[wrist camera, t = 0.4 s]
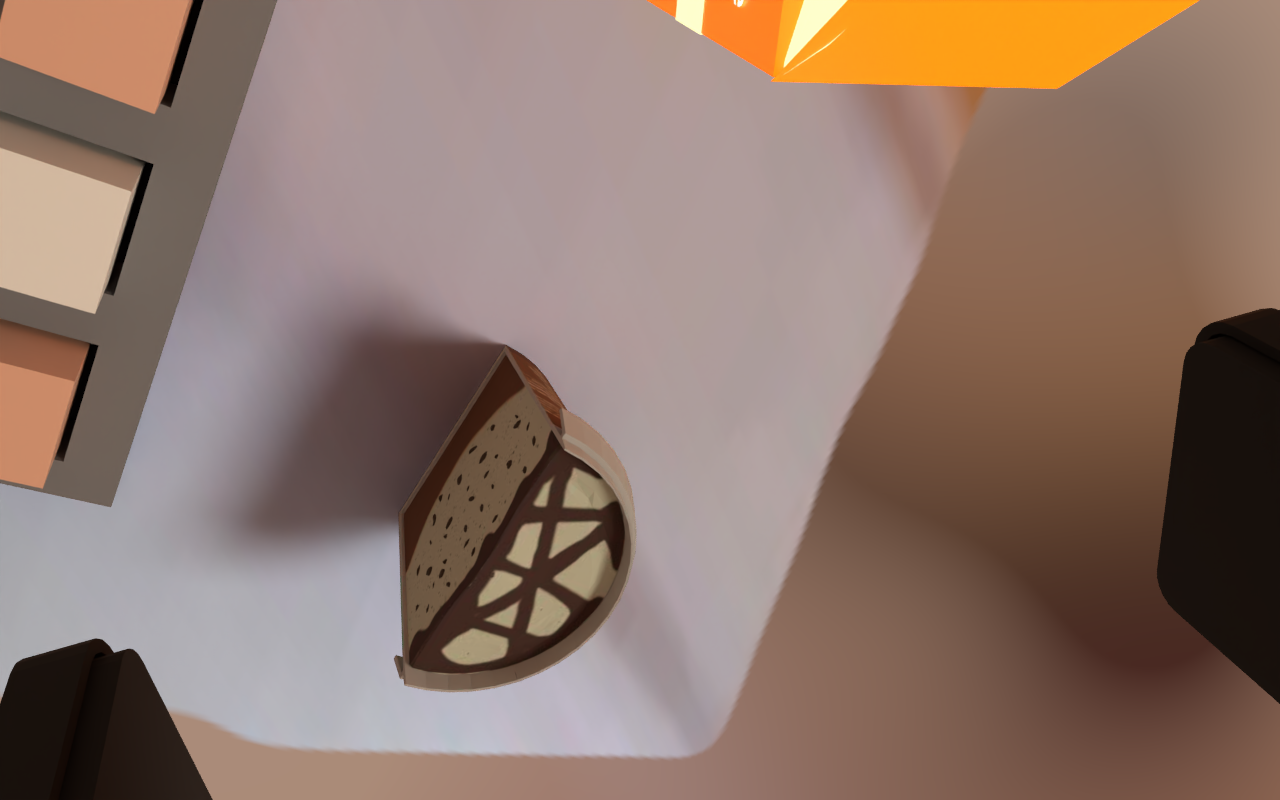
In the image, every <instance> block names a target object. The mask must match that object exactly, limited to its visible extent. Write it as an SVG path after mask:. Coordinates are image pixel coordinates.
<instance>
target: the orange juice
mask: <svg viewBox="0 0 1280 800" xmlns="http://www.w3.org/2000/svg"><path fill="white" fill-rule="evenodd" d="M647 1H649V2H651V3H652V4H654V5H655V6H657V7H659V8H660V9H662V10H664V11H665V12H667V13H669V14H670V15H672V16H674V17H675V18H676V20H677V21H679V22H680V23H682V24H683V25H685V26H687V27H688V28H690V29H692V30H693V31H695V32H697V33H698V34H701V35H705V36H707V37H708V38H710V39H711V40H713V41H715V42H716V43H718V44H720V45H721V46H723V47H725V48H726V49H728V50H730V51H731V52H733V53H735V54H736V55H738V56H739V57H741V58H743V59H744V60H746V61H748V62H749V63H751V64H753V65H754V66H756V67H758V68H759V69H761V70H763V71H764V72H766V73H767V74H769V75H771V76H772V77H775V78H774V79H773V80H772V81H774V82H813V83H853V84H892V85H931V86H971V87H1010V88H1051V89H1057V88H1059V87H1060V86H1062V85H1064V84H1065V83H1067V82H1068V81H1070V80H1071V79H1073V78H1075V77H1077V76H1078V75H1080V74H1081V73H1083V72H1085V71H1086V70H1088V69H1089V68H1091V67H1092V66H1094V65H1096V64H1097V63H1099V62H1101V61H1102V60H1104V59H1105V58H1107V57H1109V56H1110V55H1112V54H1114V53H1115V52H1117V51H1118V50H1120V49H1122V48H1123V47H1125V46H1126V45H1128V44H1130V43H1131V42H1133V41H1135V40H1136V39H1138V38H1139V37H1141V36H1143V35H1144V34H1146V33H1147V32H1149V31H1151V30H1152V29H1154V28H1155V27H1157V26H1158V25H1160V24H1162V23H1164V22H1165V21H1167V20H1168V19H1170V18H1172V17H1173V16H1175V15H1176V14H1178V13H1180V12H1181V11H1183V10H1184V9H1186V8H1188V7H1189V6H1191V5H1193V4H1194V3H1196V2H1197V1H1199V0H647Z"/></svg>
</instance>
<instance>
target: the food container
mask: <svg viewBox="0 0 1280 800" xmlns="http://www.w3.org/2000/svg"><path fill="white" fill-rule="evenodd" d="M398 515H399V549H400V583H401V617H402V652H403V657H401V656H397V655H396V656H395V658H394V661H395V664H396V667H397V670H398V674H399V677H400V679H404V685H405V686H409V687H414V688H418V689H423V690H430V691H441V692H470V691H478V690H485V689H491V688H497V687H500V686H504V685H508V684H512V683H515V682H519V681H521V680H524V679H526V678H529V677H531V676H534V675H536V674H539V673H541V672H543V671H545V670H547V669H548V668H550V667H552V666H554V665H556V664H558V663H560V662H561V661H562V660H564V659H565V658H567V657H568V656H570V655H571V654H572V653H574V652H575V651H577V650H578V649H579V648H580V647H582V646H583V645H584V644H585V643H586V642H587V641H588V640H589V639H590V638H591V637H593V636H594V635H595V634H596V632H597V631H598V630H599V629H600V628H601V627H602V625H603V624H604V623H605V622H606V621H607V619H608V618H609V617H610V615H611V614H612V612H613V610H614V609H615V607H616V606H617V604H618V602H619V601H620V599H621V596H622V594H623V592H624V589H625V587H626V585H627V582H628V578H629V574H630V572H631V568H632V563H633V559H634V555H635V548H636V522H635V510H634V503H633V496H632V489H631V486H630V483H629V480H628V477H627V474H626V471H625V469H624V467H623V465H622V463H621V462H620V460H619V458H618V456H617V455H616V453H615V451H614V450H613V449H612V447H611V446H610V445H609V444H608V443H607V442H606V440H605V439H604V438H603V437H602V436H601V435H600V433H598V432H597V431H596V430H595V429H593V428H592V427H591V426H590V425H588V424H587V423H586V422H585V421H584V420H582V419H581V418H579V417H578V416H576V415H574V414H572V413H571V412H569V411H567V409H566V408H565V406H564V405H563V403H562V402H561V400H560V398H559V397H558V395H557V394H556V392H555V391H554V389H553V388H552V386H551V385H550V383H549V381H548V380H547V378H546V377H545V376H544V374H543V373H542V372H541V371H540V370H539V369H538V368H537V367H536V365H535V364H533V363H532V362H531V361H530V360H529V359H527V358H526V357H525V356H524V355H522V354H521V353H519V352H517V351H516V350H514V349H512V348H510V347H509V346H507V345H506V346H505V347H504V349H503V350H502V352H501V354H500V355H499V357H498V358H497V360H496V361H495V363H494V365H493V366H492V368H491V369H490V371H489V372H488V374H487V376H486V377H485V379H484V380H483V382H482V383H481V385H480V387H479V388H478V390H477V391H476V393H475V394H474V396H473V397H472V399H471V401H470V402H469V404H468V405H467V407H466V408H465V410H464V412H463V413H462V415H461V416H460V418H459V419H458V421H457V423H456V424H455V426H454V427H453V429H452V430H451V432H450V434H449V435H448V437H447V438H446V440H445V441H444V443H443V445H442V446H441V448H440V449H439V451H438V452H437V454H436V456H435V457H434V459H433V460H432V462H431V463H430V465H429V467H428V468H427V470H426V471H425V473H424V474H423V476H422V478H421V479H420V481H419V482H418V484H417V485H416V487H415V489H414V490H413V492H412V493H411V495H410V496H409V498H408V500H407V501H406V503H405V504H404V506H403V507H402V509H401V511H400V512H399V514H398Z"/></svg>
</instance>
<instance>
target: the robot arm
mask: <svg viewBox="0 0 1280 800" xmlns="http://www.w3.org/2000/svg"><path fill="white" fill-rule="evenodd" d="M1157 579H1158V583H1159V587H1160V589H1161V591H1162V594H1163V596H1164V598H1165V599H1166V600H1167V602H1168V604H1169V605H1170V606H1171V607H1172V608H1173V609H1174V610H1175V611H1176V612H1177V613H1178V614H1179V615H1180V616H1181V617H1182V618H1183V619H1185V620H1186V621H1187V622H1188V623H1189V624H1190V625H1191V626H1193V627H1194V628H1195V629H1196V630H1197V631H1198V632H1199V633H1200V634H1201V635H1203V636H1204V637H1205V638H1206V639H1207V640H1209V642H1211V643H1212V644H1213V645H1214V646H1215V647H1216V648H1217V649H1219V650H1220V651H1221V652H1222V653H1223V654H1224V655H1225V656H1226V657H1228V658H1229V659H1230V660H1231V661H1232V662H1233V663H1234V664H1235V665H1236V666H1238V667H1239V668H1240V669H1241V670H1242V671H1243V672H1244V673H1246V674H1247V675H1248V676H1249V677H1250V678H1251V679H1252V680H1254V681H1255V682H1256V683H1257V684H1258V685H1259V686H1260V687H1261V688H1263V689H1264V690H1265V691H1266V692H1267V693H1268V694H1269V695H1271V696H1272V697H1273V698H1274V699H1275V700H1276V701H1277V702H1278V703H1279V704H1280V310H1277V309H1273V308H1267V309H1259V310H1256V311H1252V312H1249V313H1245V314H1242V315H1238V316H1235V317H1231V318H1228V319H1224V320H1221V321H1217V322H1214V323H1211V324H1209V325H1208V326H1206V327H1204V328H1203V329H1202V330H1201V332H1200V333H1199V334H1198V336H1197V338H1196V342H1195V345H1193V346H1192V347H1190V349H1189V350H1188V352H1187V353H1186V356H1185V359H1184V365H1183V372H1182V380H1181V388H1180V395H1179V403H1178V411H1177V419H1176V427H1175V434H1174V442H1173V450H1172V458H1171V466H1170V474H1169V481H1168V489H1167V497H1166V505H1165V513H1164V520H1163V528H1162V536H1161V544H1160V552H1159V560H1158V568H1157ZM0 800H212V798H211V796H210V794H209V792H208V790H207V788H206V786H205V784H204V782H203V780H202V778H201V776H200V774H199V772H198V770H197V768H196V766H195V764H194V762H193V760H192V758H191V756H190V754H189V752H188V750H187V748H186V746H185V744H184V742H183V740H182V738H181V737H180V734H179V732H178V730H177V728H176V727H175V724H174V722H173V720H172V718H171V717H170V714H169V712H168V710H167V708H166V706H165V704H164V702H163V700H162V698H161V697H160V695H159V693H158V691H157V689H156V687H155V685H154V683H153V681H152V679H151V677H150V675H149V673H148V671H147V669H146V667H145V665H144V663H143V661H142V659H141V658H140V656H139V655H138V653H136V652H135V651H134V650H133V649H126V650H122V651H119V652H115V653H114V652H113V651H112V649H111V648H110V646H109V645H108V644H107V643H106V642H104V641H103V640H101V639H96V638H95V639H92V640H88V641H85V642H81V643H78V644H74V645H71V646H67V647H64V648H60V649H57V650H53V651H49V652H46V653H42V654H39V655H35V656H32V657H28V658H25V659H22V660H20V661H19V662H17V663H16V664H15V666H14V668H13V669H12V671H11V673H10V676H9V679H8V682H7V685H6V688H5V691H4V694H3V697H2V700H1V703H0Z"/></svg>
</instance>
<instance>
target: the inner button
mask: <svg viewBox="0 0 1280 800" xmlns="http://www.w3.org/2000/svg"><path fill="white" fill-rule="evenodd" d="M193 4H194V0H5V3H4V7H3V11H2V15H1V19H0V58H3V59H6V60H8V61H11V62H14V63H16V64H19V65H22V66H25V67H27V68H30V69H33V70H36V71H38V72H41V73H44V74H46V75H49V76H52V77H55V78H57V79H60V80H63V81H66V82H68V83H71V84H74V85H77V86H79V87H82V88H85V89H87V90H90V91H93V92H96V93H98V94H101V95H104V96H107V97H109V98H112V99H115V100H117V101H120V102H123V103H126V104H128V105H131V106H134V107H137V108H139V109H142V110H145V111H148V112H150V113H153V114H155V112H156V110H157V108H158V106H159V104H160V102H161V100H162V98H163V96H164V94H165V92H166V90H167V88H168V86H169V84H170V80H171V77H172V74H173V70H174V67H175V64H176V60H177V57H178V54H179V50H180V47H181V44H182V40H183V37H184V34H185V30H186V27H187V24H188V20H189V17H190V14H191V10H192V7H193Z"/></svg>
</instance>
